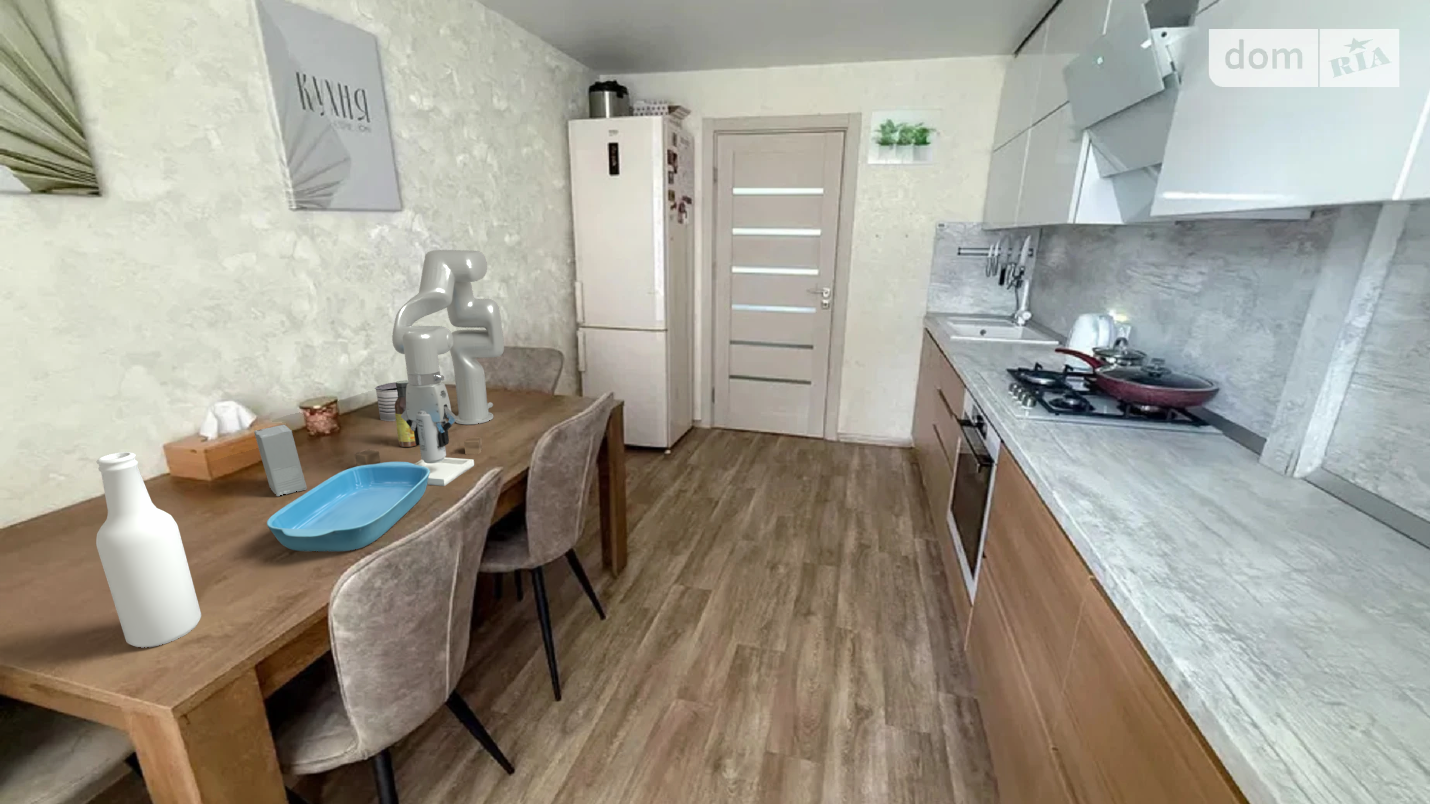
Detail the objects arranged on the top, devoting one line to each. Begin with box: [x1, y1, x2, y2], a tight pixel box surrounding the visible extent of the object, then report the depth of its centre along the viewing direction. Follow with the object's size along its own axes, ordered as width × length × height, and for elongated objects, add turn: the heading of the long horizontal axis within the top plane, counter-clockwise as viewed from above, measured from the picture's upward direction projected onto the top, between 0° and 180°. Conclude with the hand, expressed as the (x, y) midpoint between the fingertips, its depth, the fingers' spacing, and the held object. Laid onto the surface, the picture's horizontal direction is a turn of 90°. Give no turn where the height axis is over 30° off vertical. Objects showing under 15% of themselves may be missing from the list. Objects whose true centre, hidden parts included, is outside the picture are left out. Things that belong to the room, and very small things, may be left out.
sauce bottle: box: [395, 379, 418, 448], centre depth 171 cm, size 6×6×20 cm
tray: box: [414, 456, 475, 487], centre depth 153 cm, size 14×14×2 cm
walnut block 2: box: [463, 436, 483, 455], centre depth 169 cm, size 4×4×4 cm
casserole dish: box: [266, 461, 430, 553], centre depth 127 cm, size 37×22×7 cm, turn 1°
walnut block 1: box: [354, 449, 382, 467], centre depth 154 cm, size 4×4×5 cm
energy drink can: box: [416, 409, 447, 463], centre depth 150 cm, size 6×6×15 cm
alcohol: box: [95, 451, 202, 649], centre depth 87 cm, size 9×9×30 cm
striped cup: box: [374, 381, 398, 422], centre depth 199 cm, size 11×11×12 cm
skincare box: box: [253, 424, 308, 497], centre depth 140 cm, size 8×7×16 cm
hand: (432, 443), depth 151 cm, fingers closed on energy drink can, 6 cm apart
